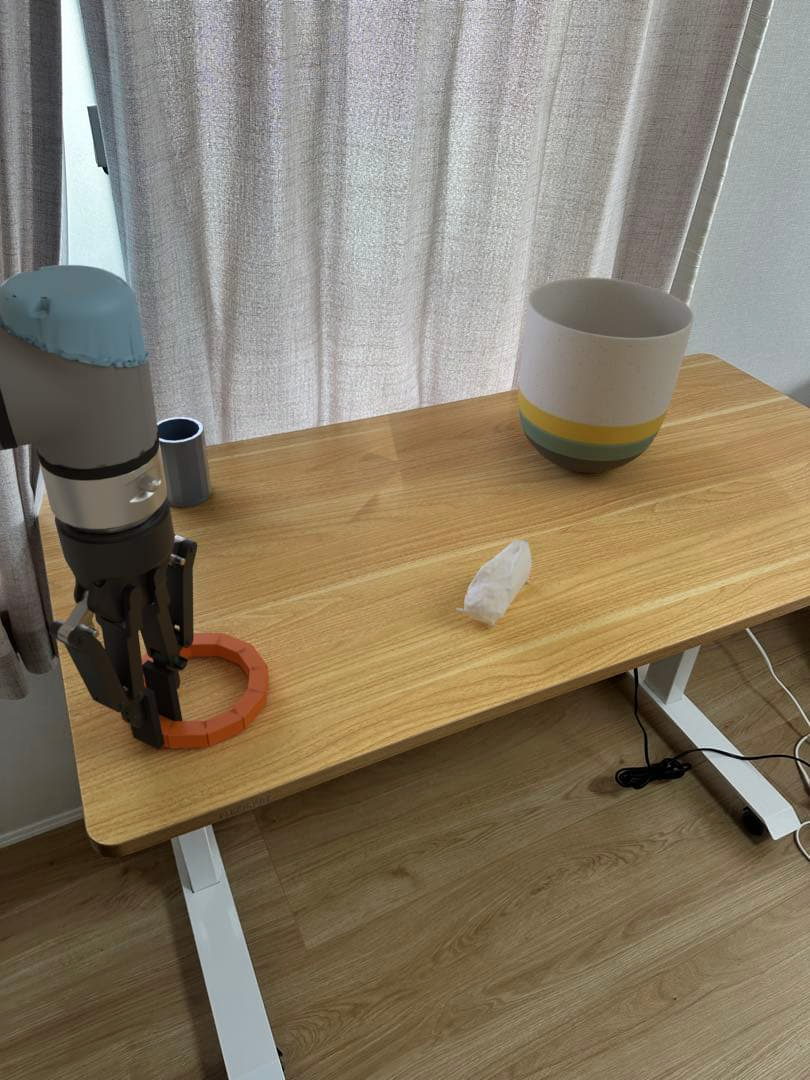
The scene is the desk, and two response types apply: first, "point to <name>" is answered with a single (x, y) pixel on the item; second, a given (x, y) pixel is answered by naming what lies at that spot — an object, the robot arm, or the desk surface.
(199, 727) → the ring
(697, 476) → the desk surface
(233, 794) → the desk surface
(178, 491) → the cup
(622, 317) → the planter
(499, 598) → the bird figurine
